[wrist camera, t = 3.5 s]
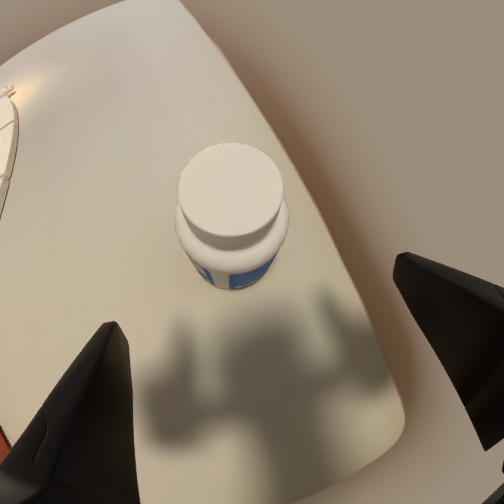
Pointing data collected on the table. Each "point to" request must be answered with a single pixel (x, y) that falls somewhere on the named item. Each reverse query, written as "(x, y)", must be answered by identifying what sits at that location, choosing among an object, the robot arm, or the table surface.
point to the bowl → (3, 447)
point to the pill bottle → (231, 214)
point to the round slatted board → (7, 140)
